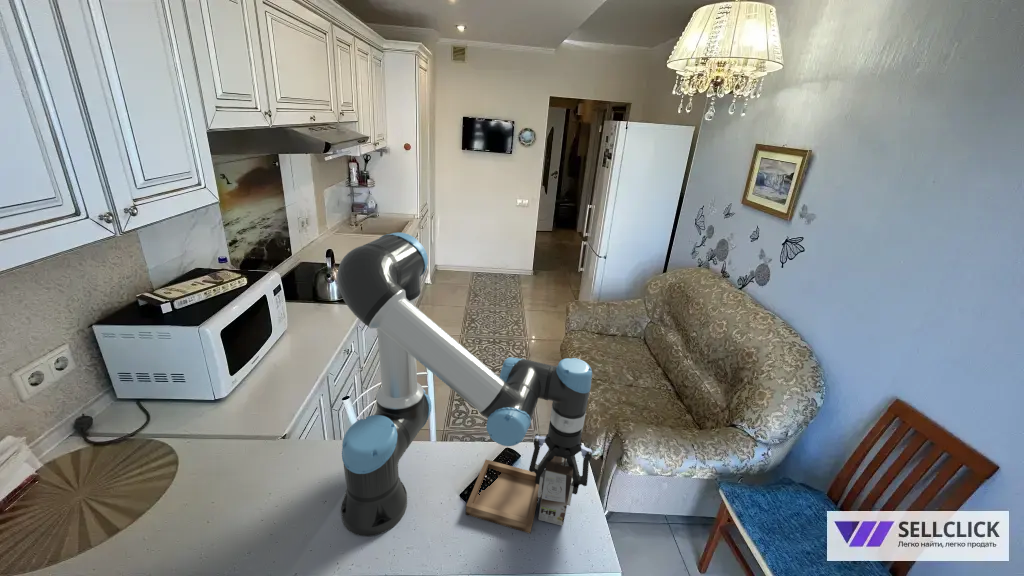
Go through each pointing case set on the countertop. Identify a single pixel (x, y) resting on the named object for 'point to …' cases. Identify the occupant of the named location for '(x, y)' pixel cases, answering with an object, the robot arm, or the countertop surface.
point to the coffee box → (555, 490)
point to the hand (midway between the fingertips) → (554, 496)
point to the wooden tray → (505, 497)
